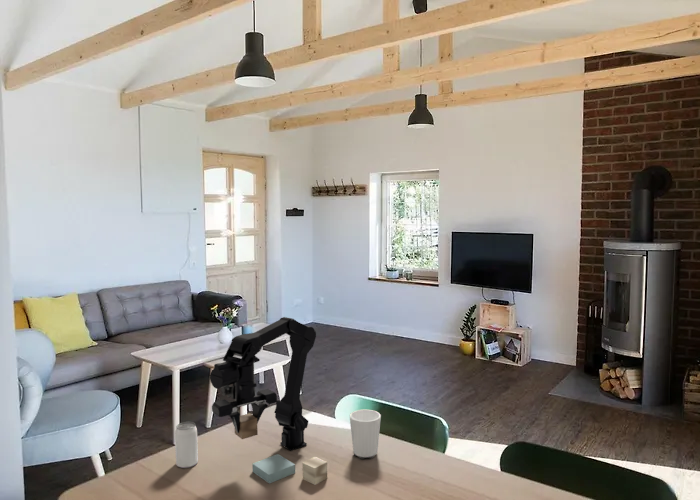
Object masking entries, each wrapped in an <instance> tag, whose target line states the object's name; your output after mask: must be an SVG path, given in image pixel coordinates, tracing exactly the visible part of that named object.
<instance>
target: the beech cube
mask: <svg viewBox="0 0 700 500" xmlns="http://www.w3.org/2000/svg"><path fill="white" fill-rule="evenodd" d="M327 479H328V461H326V460H323V459H321V458H319V457H317V456H313V457H311V458H309V459H307V460H305V461H303V462H302V480H304V481H306V482H307V483H310V484H312V485H314V486H316V485H318V484H320V483H321V482H324V481H325V480H327Z"/></svg>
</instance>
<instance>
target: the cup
mask: <svg viewBox="0 0 700 500" xmlns="http://www.w3.org/2000/svg"><path fill="white" fill-rule="evenodd" d="M381 419H382V414H380V412H378V411H376V410H374V409H373V410H372V409H366V408H365V409H363V408H361V409H357V410H355V411H352V412H350V414H349V421H350V422H349V423H350V433H351V442H352V452H353V453H352V454H353V455H354V456H357V457H358V458H359V459H360V460H364V459H365V458H369V459H374V458H375V456H376V455H377V454H378V449H379V440H380V427H381Z"/></svg>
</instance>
